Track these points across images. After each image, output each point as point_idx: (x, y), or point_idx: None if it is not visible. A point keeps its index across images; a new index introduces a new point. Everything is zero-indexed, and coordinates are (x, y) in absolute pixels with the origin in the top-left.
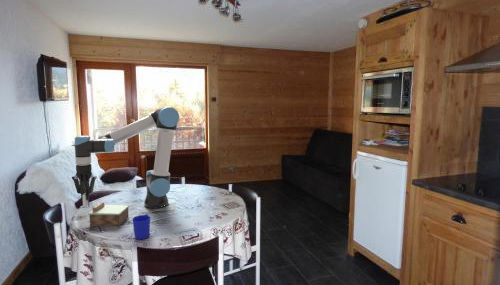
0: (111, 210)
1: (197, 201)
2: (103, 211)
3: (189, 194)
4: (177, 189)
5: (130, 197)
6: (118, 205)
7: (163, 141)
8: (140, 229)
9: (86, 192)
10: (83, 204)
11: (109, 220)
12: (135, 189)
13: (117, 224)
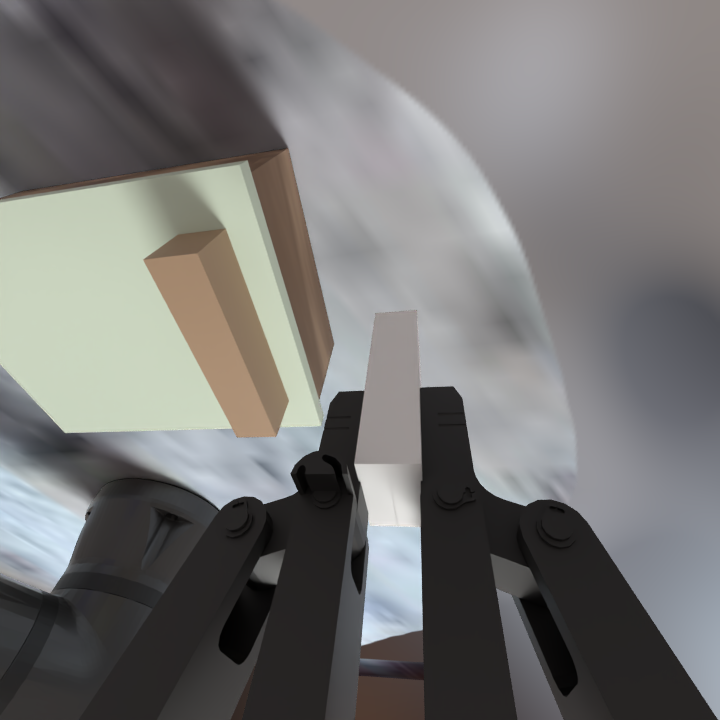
0: (64, 307)
1: (31, 540)
2: (110, 263)
3: None
4: None
5: (370, 572)
6: (145, 426)
7: None
8: None
9: (310, 528)
10: (406, 326)
11: None
12: (410, 626)
13: (26, 193)
